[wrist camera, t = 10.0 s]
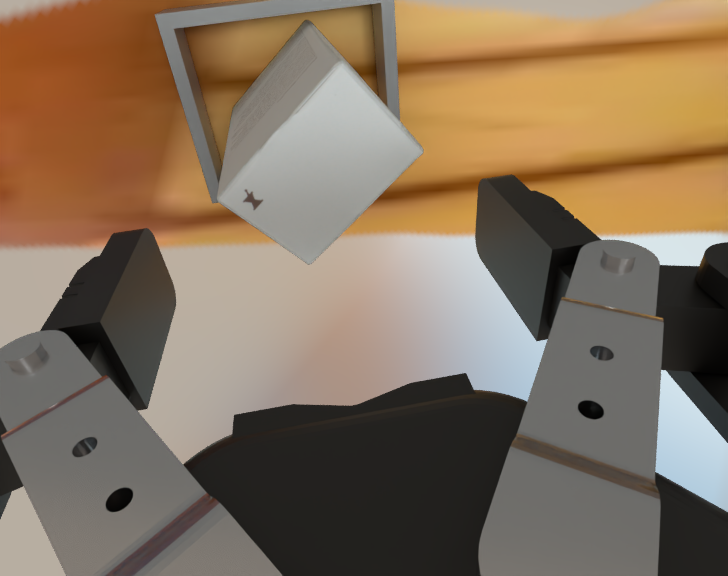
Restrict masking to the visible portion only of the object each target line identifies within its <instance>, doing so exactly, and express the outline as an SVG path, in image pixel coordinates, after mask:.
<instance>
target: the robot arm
mask: <svg viewBox="0 0 728 576" xmlns="http://www.w3.org/2000/svg"><path fill="white" fill-rule="evenodd" d="M475 238H476V247H477V251H478V254H479V257H480V259H481V260H482V262H483V263H484V265H485V266H486V268H487V269H488V271H489V272H490V273H491V275H492V276H493V278H494V279H495V281H496V282H497V283H498V285H499V287H500V288H501V289H502V291H503V292H504V294H505V295H506V297H507V298H508V300H509V301H510V302H511V304H512V306H513V307H514V309H515V310H516V312H517V313H518V314H519V316H520V317H521V319H522V320H523V322H524V323H525V325H526V326H527V328H528V329H529V330H530V332H531V333H532V335H533V336H534V338H535V339H536V341H540V340H545V339H548V340H547V343H546V346H545V350H544V353H543V356H542V359H541V362H540V365H539V368H538V371H537V374H536V377H535V380H534V383H533V386H532V389H531V393H530V396H529V399H528V402H526V401H524V400H522V399H519V398H516V397H513V396H510V395H506V394H502V393H497V392H491V391H483V390H473V387H472V385H471V383H470V381H469V379H468V377H467V374H466V373H464V374H458V375H452V376H447V377H442V378H436V379H431V380H425V381H419V382H414V383H410V384H407V385H405V386H402V387H400V388H397V389H395V390H392V391H390V392H388V393H385V394H383V395H380V396H378V397H375V398H373V399H370V400H368V401H365V402H363V403H361V404H358V405H353V406H336V405H335V406H334V405H296V404H292V405H286V406H282V407H275V408H270V409H264V410H259V411H253V412H248V413H242V414H237V415H234V422H233V434H232V435H229V436H227V437H225V438H223V439H221V440H219V441H217V442H215V443H213V444H211V445H210V446H208V447H206V448H205V449H203V450H202V451H200V452H199V453H197V454H196V455H195V456H193V457H192V458H191V459H189V460H188V461H187V462H186V463H185V464H182V463H181V462H180V461H179V460H178V458H177V457H176V456H175V455H174V454H173V452H172V451H171V450H170V449H169V448H168V447H167V445H166V444H165V443H164V442H163V441H162V439H161V438H160V437H159V436H158V435H157V434H156V432H155V431H154V430H153V429H152V428H151V426H150V425H149V424H148V423H147V422H146V421H145V419H144V418H143V417H142V416H141V415H140V413H139V412H138V410H143V409H147V408H148V404H149V401H150V397H151V394H152V390H153V386H154V383H155V379H156V376H157V372H158V369H159V365H160V361H161V358H162V354H163V351H164V347H165V343H166V340H167V336H168V333H169V329H170V325H171V322H172V318H173V315H174V310H175V307H176V296H175V290H174V285H173V282H172V280H171V277H170V275H169V272H168V270H167V267H166V265H165V262H164V260H163V257H162V255H161V252H160V250H159V247H158V245H157V242H156V240H155V237H154V235H153V233H152V232H151V231H150V230H149V229H147V228H145V229H138V230H132V231H125V232H118V233H114V234H112V236H111V237H110V239H109V241H108V243H107V244H106V246H105V248H104V250H103V251H102V253H101V255H100V256H97V257H94V258H92V259H91V260H90V261H89V262H87V263H86V264H85V265H84V266H83V267H81V268H80V269H79V270H78V271H77V272H76V274H75V275H74V277H73V279H72V280H71V282H70V284H69V287H67V288H66V290H65V292H64V293H63V295H62V299H60V300H59V301H58V303H57V305H56V306H55V308H54V309H53V311H52V312H51V314H50V316H49V317H48V319H47V321H46V322H45V324H44V325H43V327H42V329H41V330H40V331H39V332H35V333H31V334H28V335H26V336H23V337H20V338H18V339H16V340H14V341H12V342H10V343H8V344H7V345H5V346H4V347H2V348H1V349H0V519H1V516H2V514H3V511H4V509H5V507H6V504H7V502H8V499H9V497H10V495H11V492H12V491H14V490H16V489H18V488H20V487H23V486H24V488H25V490H26V492H27V494H28V496H29V498H30V500H31V502H32V504H33V507H34V509H35V510H36V513H37V515H38V517H39V519H40V521H41V523H42V526H43V528H44V529H45V532H46V534H47V536H48V538H49V540H50V542H51V544H52V547H53V549H54V551H55V553H56V555H57V557H58V559H59V561H60V564H61V566H62V568H63V570H64V572H65V574H66V576H728V512H726V511H724V510H723V509H721V508H719V507H717V506H716V505H714V504H712V503H710V502H708V501H707V500H705V499H703V498H701V497H699V496H698V495H696V494H694V493H692V492H690V491H689V490H687V489H685V488H683V487H682V486H680V485H678V484H676V483H674V482H673V481H671V480H669V479H667V478H665V477H664V476H662V475H660V474H658V473H656V472H655V467H656V449H657V432H658V415H659V396H660V380H661V370H666V371H667V372H668V373H669V375H670V376H671V377H672V378H673V379H674V381H675V382H676V383H677V384H678V385H679V386H680V388H681V389H682V390H683V391H684V392H685V393H686V395H687V396H688V397H689V398H690V399H691V400H692V402H693V403H694V404H695V405H696V406H697V408H698V409H699V410H700V411H701V412H702V413H703V415H704V416H705V417H706V418H707V419H708V420H709V421H710V423H711V424H712V425H713V426H714V427H715V429H716V430H717V431H718V432H719V433H720V435H721V436H722V437H723V438H724V439H725V440H726V442H727V443H728V242H727V243H720V244H715V245H712V246H710V247H709V248H708V249H707V250H706V251H705V253H704V256H703V259H702V261H701V264H700V266H668V265H660V264H659V261H658V258H657V257H656V256H655V255H654V254H653V253H652V252H650V251H649V250H647V249H646V248H643V247H642V246H639V245H636V244H633V243H630V242H625V241H619V240H601V239H600V238H599V237H597V236H596V235H595V234H594V233H593V232H592V231H591V230H589V229H588V228H587V227H586V226H585V225H584V224H582V223H581V222H580V221H579V220H578V219H577V218H576V219H574V216H573V215H572V214H571V213H570V212H569V211H567V210H565V208H564V207H563V206H562V205H561V204H559V203H558V202H557V201H556V200H555V199H554V198H552V197H549V196H547V195H545V194H542V193H540V192H537V191H531V190H529V189H528V188H527V187H526V186H525V185H524V184H523V183H522V182H521V181H520V180H518V179H517V178H516V177H515V176H514V175H505V176H499V177H492V178H485V179H482V180H481V181H480V183H479V187H478V200H477V217H476V235H475Z"/></svg>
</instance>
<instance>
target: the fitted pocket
mask: <svg viewBox="0 0 728 576" xmlns="http://www.w3.org/2000/svg"><path fill="white" fill-rule="evenodd" d="M368 4H372V16H373V30H374V44H375V58H376V72H377V86H378V97H379V98H380V99H381V100H382V102H383V103H384V104H385V105H386V106H387V107H388V108H389V109H390V111H391V112H392V113H393V114H394V115H395V116H396V117H397V118H398V120H399V121H400V111H399V90H398V69H397V48H396V27H395V6H394V0H239V1H230V2H222V3H214V4H206V5H197V6H189V7H181V8H173V9H165V10H163V11H161V12H159V13H157V14H155V17H156V21H157V24H158V27H159V30H160V34H161V37H162V40H163V44H164V47H165V50H166V53H167V57H168V60H169V63H170V66H171V70H172V73H173V76H174V79H175V83H176V86H177V89H178V92H179V96H180V99H181V102H182V105H183V109H184V112H185V115H186V119H187V122H188V125H189V128H190V132H191V135H192V138H193V141H194V145H195V148H196V151H197V154H198V158H199V161H200V164H201V167H202V171H203V174H204V177H205V181H206V184H207V187H208V190H209V194H210V197H211V200H212V203H218V201H217V194H218V188H219V181H220V176H221V171H222V164H221V160H220V157H219V153H218V150H217V146H216V142H215V139H214V135H213V132H212V128H211V125H210V121H209V117H208V114H207V110H206V107H205V103H204V100H203V96H202V92H201V89H200V85H199V82H198V78H197V74H196V71H195V67H194V64H193V60H192V57H191V53H190V49H189V46H188V42H187V39H186V35H185V32H184V28H183V27H191V26H199V25H207V24H216V23H224V22H232V21H240V20H248V19H256V18H264V17H272V16H280V15H288V14H296V13H304V12H312V11H320V10H328V9H336V8H344V7H352V6H360V5H368Z"/></svg>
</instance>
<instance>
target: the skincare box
mask: <svg viewBox="0 0 728 576" xmlns="http://www.w3.org/2000/svg"><path fill="white" fill-rule="evenodd" d="M422 154H423V148H422V146H421V145H420V144H419V143H418V142H417V140H416V139H415V138H414V137H413V136H412V135H411V133H410V132H409V131H408V130H407V129H406V128H405V126H404V125H403V124H402V123H401V122H400V121H399V120H398V118H397V117H396V116H395V115H394V114H393V113H392V112H391V111H390V109H389V108H388V107H387V106H386V105H385V104H384V103H383V102H382V100H381V99H380V98H379V97H378V96H377V95H376V94H375V93H374V92H373V91H372V89H371V88H370V87H369V86H368V85H367V84H366V82H365V81H364V80H363V79H362V78H361V77H360V75H359V74H358V73H357V72H356V71H355V70H354V69H353V67H352V66H351V65H350V64H349V63H348V62H347V61H346V60H345V59H344V57H343V56H342V55H341V54H340V53H339V52H338V51H337V50H336V49H335V47H334V46H333V45H332V44H331V43H330V42H329V41H328V40H327V39H326V38H325V36H324V35H323V34H322V33H321V32H320V31H319V30H318V29H317V28H316V27H315V26H314V25H313V23H312V22H311V21H309V20H305V21H304V22H303V23H302V25H301V26H300V27H299V28H298V29H297V31H296V32H295V33H294V34H293V35H292V37H291V38H290V39H289V40H288V41H287V43H286V44H285V45H284V46H283V48H282V49H281V50H280V51H279V52H278V54H277V55H276V56H275V57H274V58H273V60H272V61H271V62H270V63H269V64H268V66H267V67H266V68H265V69H264V70H263V72H262V73H261V74H260V75H259V76H258V78H257V79H256V80H255V81H254V83H253V84H252V85H251V86H250V87H249V89H248V90H247V91H246V92H245V94H244V95H243V96H242V97H241V98H240V100H239V101H238V102H237V103H236V104H235V106H234V107H233V110H232V115H231V121H230V126H229V132H228V138H227V144H226V149H225V155H224V160H223V166H222V171H221V176H220V181H219V188H218V194H217V201H218V202H219V203H220V204H222V205H223V206H225V207H226V208H228V209H229V210H231V211H232V212H234V213H235V214H236V215H238V216H239V217H241V218H242V219H244V220H245V221H247V222H248V223H250V224H251V225H252V226H254V227H255V228H257V229H258V230H260V231H261V232H263V233H264V234H265V235H267V236H268V237H270V238H271V239H273V240H274V241H275V242H277V243H278V244H280V245H281V246H282V247H284V248H285V249H287V250H288V251H290V252H291V253H292V254H294V255H295V256H297V257H298V258H300V259H301V260H303V261H304V262H305V263H307V264H308V265H309V264H312V263H313V262H314V261H315V260H316V259H317V258H318V257H319V256H320V255H321V254H322V253H323V252H324V251H325V250H326V249H327V248H328V247H329V246H330V245H331V244H332V243H333V242H334V241H335V240H336V239H337V238H338V237H339V236H340V235H341V234H342V233H343V232H344V231H345V230H346V229H347V228H348V227H349V226H350V225H351V224H352V223H353V222H354V221H355V220H356V219H357V218H358V217H359V216H360V215H361V214H362V213H363V212H364V211H365V210H366V209H367V208H368V207H369V206H370V205H371V204H372V203H373V202H374V201H375V200H376V199H377V198H378V197H379V196H380V195H381V194H382V193H383V192H384V191H385V190H386V189H387V188H388V187H389V186H390V185H391V184H392V183H393V182H394V181H395V180H396V179H397V178H398V177H399V176H400V175H401V174H402V173H403V172H404V171H405V170H406V169H407V168H408V167H409V166H410V165H411V164H412V163H413V162H414V161H415V160H416V159H417V158H418V157H420V156H421V155H422Z"/></svg>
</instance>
